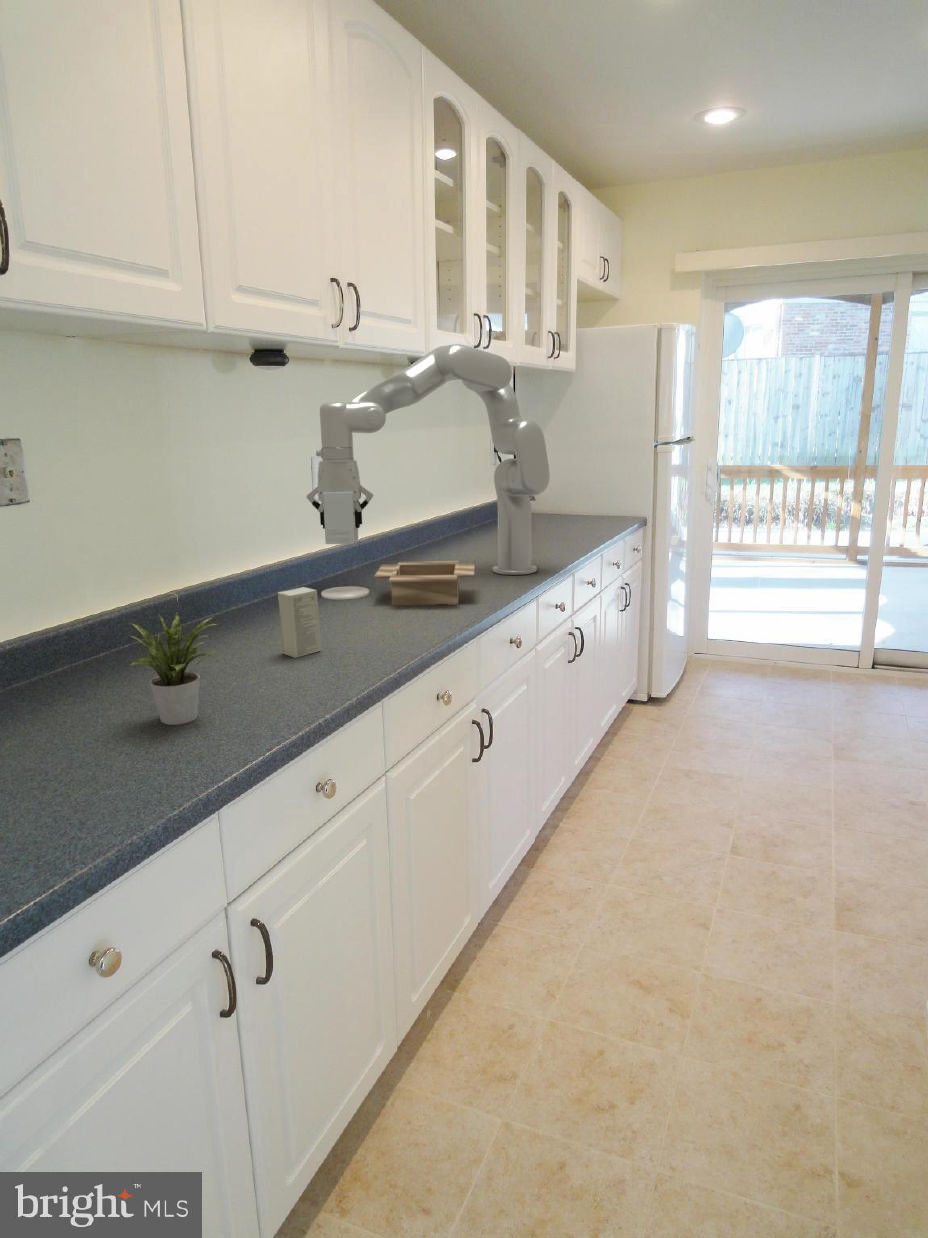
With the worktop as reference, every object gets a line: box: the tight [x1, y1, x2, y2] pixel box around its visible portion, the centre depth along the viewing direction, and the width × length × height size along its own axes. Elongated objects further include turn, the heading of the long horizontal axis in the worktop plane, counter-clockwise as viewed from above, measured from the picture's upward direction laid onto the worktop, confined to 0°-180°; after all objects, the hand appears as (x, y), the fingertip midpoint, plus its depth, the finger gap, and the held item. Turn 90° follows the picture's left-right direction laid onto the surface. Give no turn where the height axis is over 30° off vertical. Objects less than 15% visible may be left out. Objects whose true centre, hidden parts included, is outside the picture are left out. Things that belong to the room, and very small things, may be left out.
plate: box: [320, 585, 370, 601], centre depth 205 cm, size 12×12×1 cm
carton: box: [373, 560, 476, 606], centre depth 199 cm, size 24×24×7 cm
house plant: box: [129, 611, 219, 726], centre depth 119 cm, size 14×14×16 cm
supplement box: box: [323, 492, 359, 545], centre depth 200 cm, size 7×7×13 cm
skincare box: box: [277, 586, 322, 659], centre depth 153 cm, size 6×4×12 cm
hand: (341, 527), depth 201 cm, fingers closed on supplement box, 7 cm apart
